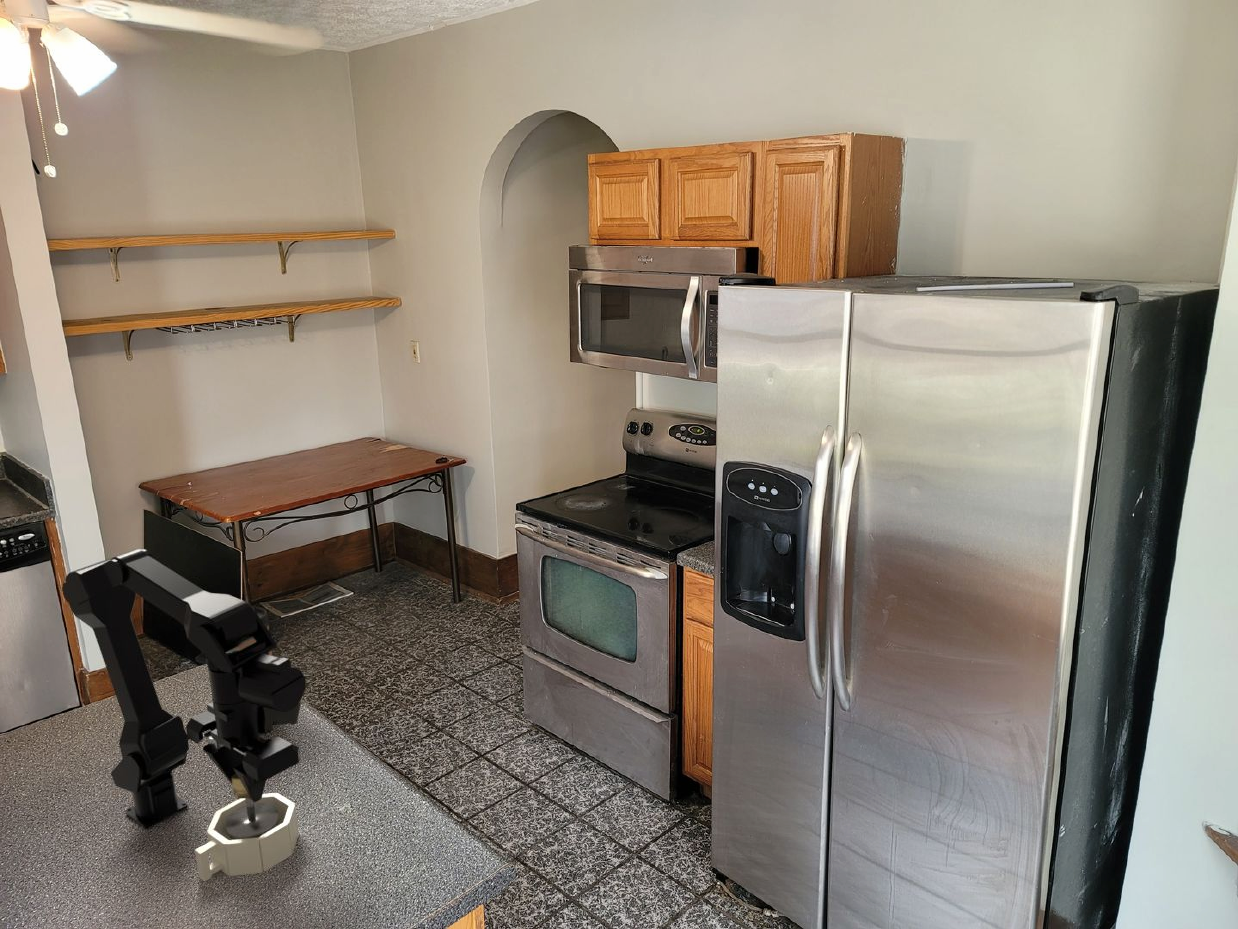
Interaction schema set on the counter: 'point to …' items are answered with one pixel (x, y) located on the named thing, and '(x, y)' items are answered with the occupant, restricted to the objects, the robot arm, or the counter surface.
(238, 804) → the cream octagonal ring
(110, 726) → the counter surface
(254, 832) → the plunger
